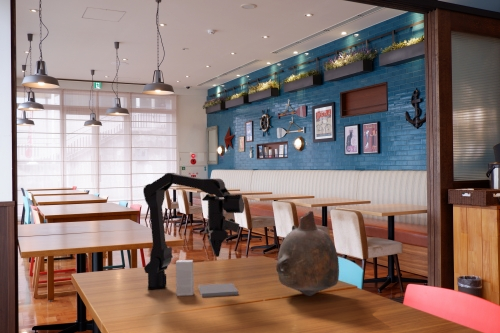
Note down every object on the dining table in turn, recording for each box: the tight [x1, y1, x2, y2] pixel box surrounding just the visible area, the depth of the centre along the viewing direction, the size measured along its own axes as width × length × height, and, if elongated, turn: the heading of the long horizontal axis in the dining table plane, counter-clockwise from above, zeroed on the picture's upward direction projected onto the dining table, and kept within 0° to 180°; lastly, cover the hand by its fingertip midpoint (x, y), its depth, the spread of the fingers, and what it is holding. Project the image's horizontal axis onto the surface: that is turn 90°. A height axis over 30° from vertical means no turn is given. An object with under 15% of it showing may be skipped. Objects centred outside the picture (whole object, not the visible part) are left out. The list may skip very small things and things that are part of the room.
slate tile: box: [198, 282, 239, 298], centre depth 181 cm, size 13×13×1 cm
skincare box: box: [175, 259, 195, 297], centre depth 177 cm, size 6×4×12 cm
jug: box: [275, 210, 340, 297], centre depth 173 cm, size 24×21×30 cm
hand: (216, 255), depth 181 cm, fingers open, 4 cm apart
